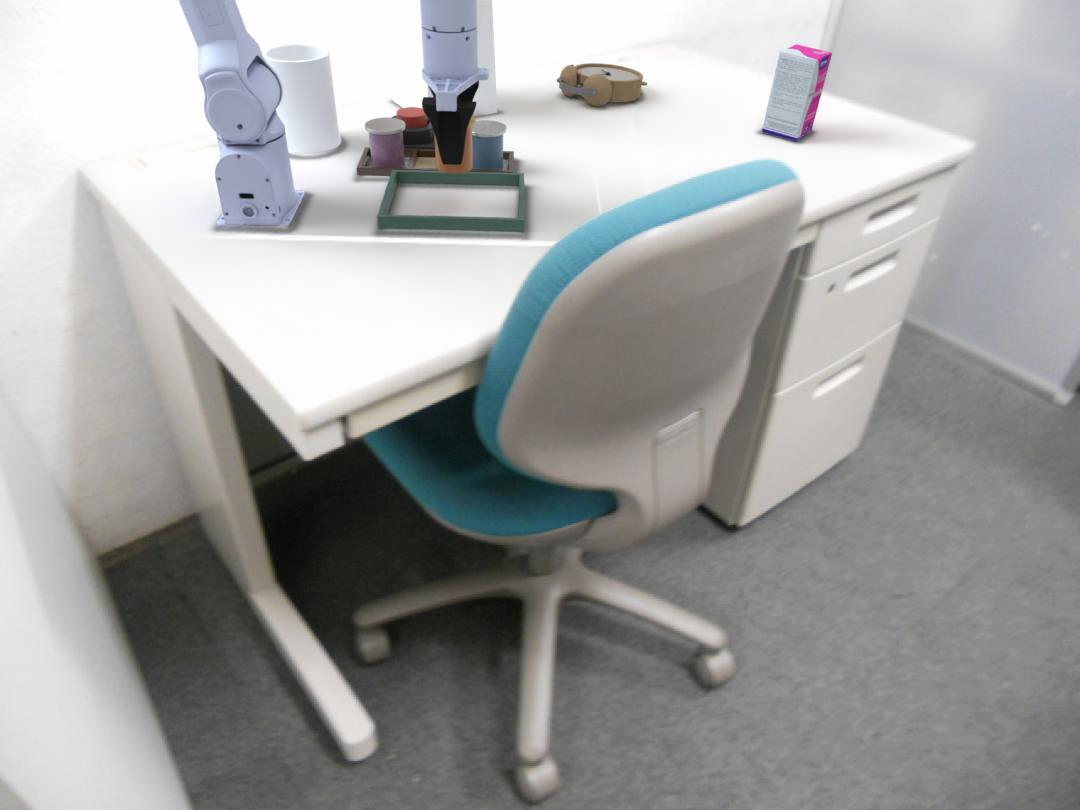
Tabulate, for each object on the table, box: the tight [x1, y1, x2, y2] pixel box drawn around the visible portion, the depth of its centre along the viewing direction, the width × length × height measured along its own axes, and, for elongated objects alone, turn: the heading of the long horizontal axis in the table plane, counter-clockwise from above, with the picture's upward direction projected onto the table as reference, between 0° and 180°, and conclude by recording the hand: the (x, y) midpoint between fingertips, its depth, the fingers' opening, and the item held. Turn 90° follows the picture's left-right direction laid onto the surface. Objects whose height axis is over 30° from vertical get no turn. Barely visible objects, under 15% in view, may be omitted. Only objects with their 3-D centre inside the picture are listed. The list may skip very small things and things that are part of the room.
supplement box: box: [760, 43, 833, 142], centre depth 118 cm, size 6×6×12 cm
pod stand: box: [356, 146, 515, 177], centre depth 105 cm, size 7×20×2 cm, turn 91°
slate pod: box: [472, 119, 507, 170], centre depth 104 cm, size 5×5×5 cm
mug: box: [263, 43, 342, 155], centre depth 108 cm, size 12×8×12 cm
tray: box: [376, 170, 525, 233], centre depth 96 cm, size 13×16×2 cm
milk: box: [389, 0, 498, 115], centre depth 117 cm, size 12×12×26 cm
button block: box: [390, 114, 435, 149], centre depth 111 cm, size 10×8×3 cm
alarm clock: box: [556, 62, 648, 107], centre depth 130 cm, size 11×5×15 cm
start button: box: [396, 107, 427, 128], centre depth 110 cm, size 4×4×2 cm
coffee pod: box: [430, 115, 477, 173], centre depth 92 cm, size 5×5×5 cm
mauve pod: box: [364, 117, 406, 167], centre depth 104 cm, size 5×5×5 cm
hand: (453, 154), depth 93 cm, fingers closed on coffee pod, 5 cm apart
